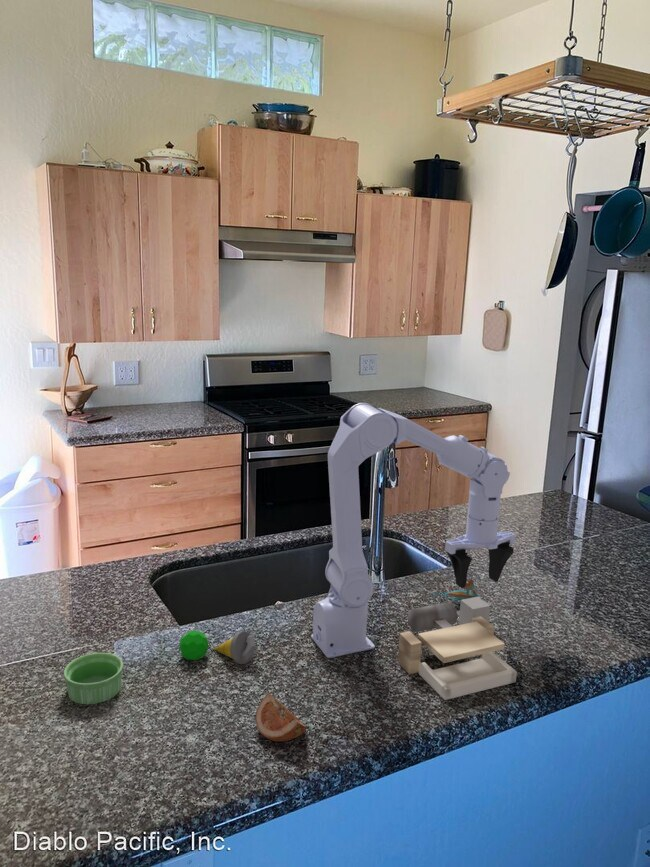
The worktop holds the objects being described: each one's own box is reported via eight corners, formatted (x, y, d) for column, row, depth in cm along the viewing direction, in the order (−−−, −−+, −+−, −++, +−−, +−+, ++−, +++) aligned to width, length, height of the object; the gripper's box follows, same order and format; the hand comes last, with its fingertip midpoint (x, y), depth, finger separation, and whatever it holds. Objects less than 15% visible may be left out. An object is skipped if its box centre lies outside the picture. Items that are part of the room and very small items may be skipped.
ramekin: (103, 669, 116) (102, 646, 115) (135, 690, 111) (134, 666, 110) (54, 693, 109) (52, 668, 108) (85, 717, 104) (84, 691, 103)
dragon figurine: (446, 613, 147) (481, 613, 142) (430, 608, 142) (465, 608, 137) (447, 582, 149) (481, 582, 145) (431, 576, 144) (466, 575, 139)
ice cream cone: (253, 624, 118) (209, 628, 123) (243, 654, 114) (199, 656, 119) (270, 639, 121) (227, 642, 126) (262, 668, 117) (218, 670, 122)
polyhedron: (177, 653, 121) (176, 628, 120) (204, 648, 123) (204, 623, 122) (183, 668, 117) (182, 642, 116) (211, 662, 119) (211, 637, 118)
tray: (444, 703, 109) (445, 689, 109) (418, 676, 117) (419, 663, 116) (515, 684, 115) (516, 671, 114) (486, 660, 122) (487, 647, 122)
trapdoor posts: (397, 664, 120) (399, 633, 119) (478, 645, 127) (480, 616, 125) (409, 676, 116) (411, 644, 115) (491, 657, 123) (494, 626, 122)
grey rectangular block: (470, 633, 131) (472, 609, 130) (458, 623, 135) (460, 599, 134) (487, 629, 133) (490, 605, 132) (475, 619, 136) (477, 596, 135)
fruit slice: (315, 744, 99) (316, 714, 98) (275, 762, 95) (275, 731, 94) (285, 713, 106) (286, 685, 105) (247, 729, 102) (247, 699, 101)
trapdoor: (397, 627, 125) (398, 607, 124) (453, 616, 129) (454, 596, 128) (443, 671, 111) (444, 649, 110) (503, 657, 116) (505, 635, 115)
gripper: (462, 528, 122) (457, 597, 125) (528, 518, 128) (521, 585, 131) (441, 514, 128) (436, 581, 132) (504, 506, 134) (498, 570, 137)
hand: (477, 582), depth 132 cm, fingers open, 7 cm apart
